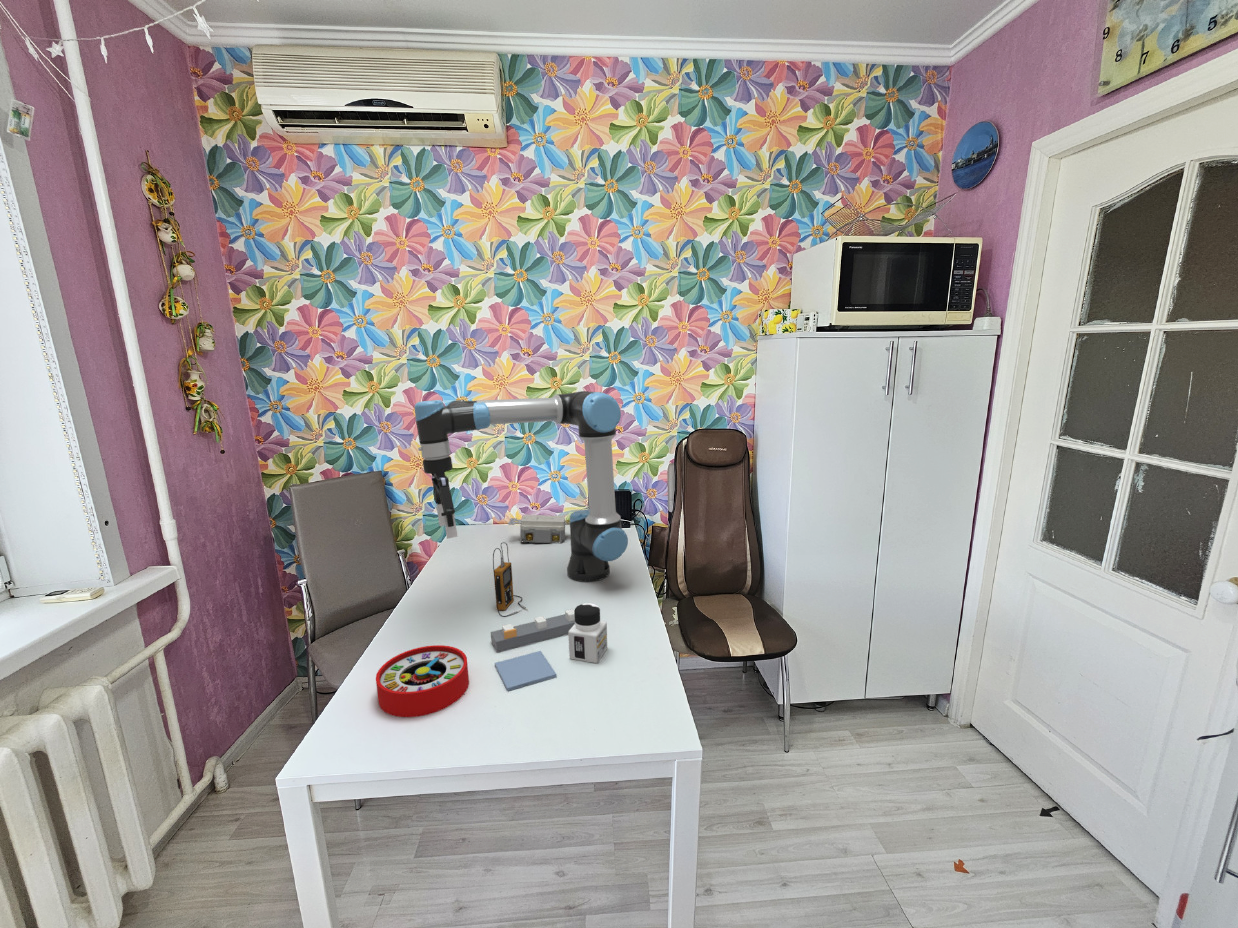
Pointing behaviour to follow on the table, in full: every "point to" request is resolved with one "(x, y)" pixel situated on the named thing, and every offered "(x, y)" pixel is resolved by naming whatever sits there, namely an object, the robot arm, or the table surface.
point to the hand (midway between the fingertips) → (448, 531)
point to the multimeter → (504, 584)
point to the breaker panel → (532, 631)
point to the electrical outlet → (541, 528)
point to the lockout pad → (524, 670)
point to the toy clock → (422, 681)
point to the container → (587, 634)
